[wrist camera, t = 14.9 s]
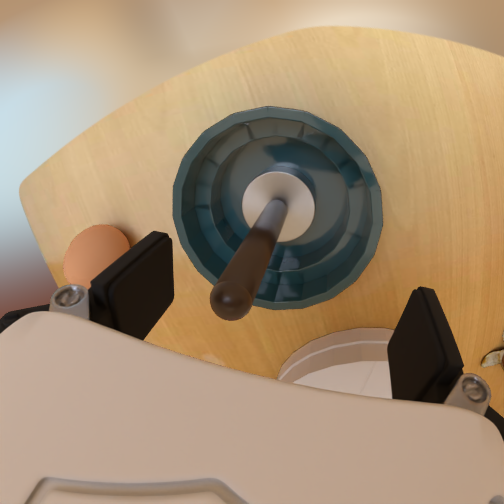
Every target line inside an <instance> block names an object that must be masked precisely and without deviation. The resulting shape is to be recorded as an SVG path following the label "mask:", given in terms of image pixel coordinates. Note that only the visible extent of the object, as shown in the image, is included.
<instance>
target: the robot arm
mask: <svg viewBox="0 0 504 504" xmlns="http://www.w3.org/2000/svg"><path fill="white" fill-rule="evenodd" d="M90 284H91V287H90V288H89V289H88V290H87V289H86V287H84V286H82V285H78V284H70V285H65V286H63V287H61V288H59V289H58V290H56V291H55V292H54V293H53V295H52V297H51V300H50V304H47V305H42V306H37V307H31V308H26V309H21V310H16V311H11V312H8V313H6V314H5V315H4V316H3V317H2V318H1V319H0V504H504V418H503V417H502V416H501V415H499V414H498V413H497V412H496V411H495V410H494V409H492V408H491V407H490V406H489V403H490V400H491V391H490V388H489V386H488V384H487V383H486V381H485V380H483V379H482V378H481V377H480V376H478V375H476V374H473V373H466V374H464V373H463V370H462V368H463V366H464V364H463V361H462V358H461V355H460V353H459V350H458V347H457V344H456V342H455V339H454V336H453V334H452V331H451V329H450V326H449V324H448V321H447V319H446V316H445V314H444V312H443V309H442V307H441V305H440V302H439V300H438V298H437V296H436V293H435V291H434V290H433V289H430V288H426V287H421V286H420V287H418V289H417V290H416V289H414V290H413V291H412V293H411V296H410V298H409V300H408V303H407V305H406V307H405V309H404V311H403V314H402V316H401V318H400V320H399V322H398V324H397V326H396V328H395V330H394V332H393V334H392V336H391V338H390V340H389V343H388V346H387V355H388V363H389V371H390V380H391V390H392V399H388V398H380V397H372V396H364V395H357V394H351V393H344V392H338V391H332V390H326V389H321V388H315V387H310V386H305V385H300V384H295V383H290V382H286V381H281V380H277V379H272V378H268V377H264V376H260V375H255V374H251V373H247V372H243V371H240V370H236V369H232V368H228V367H225V366H221V365H218V364H214V363H211V362H207V361H204V360H201V359H197V358H194V357H191V356H187V355H184V354H181V353H178V352H175V351H172V350H169V349H166V348H163V347H160V346H157V345H154V344H151V343H149V342H146V341H143V340H144V339H145V337H146V336H147V335H148V333H149V332H150V331H151V329H152V328H153V327H154V325H155V324H156V323H157V321H158V320H159V319H160V318H161V316H162V315H163V314H164V312H165V311H166V310H167V308H168V307H169V306H170V305H171V303H172V302H173V299H174V278H173V248H172V239H171V238H169V236H168V234H167V233H162V232H158V231H153V232H151V233H150V234H149V235H147V236H146V237H145V238H143V239H142V240H141V241H139V242H138V243H137V244H136V245H134V246H133V247H132V248H131V249H129V250H128V251H127V252H125V253H124V254H123V255H122V256H120V257H119V258H118V259H117V260H116V261H114V262H113V263H112V264H111V265H109V266H108V267H107V268H106V269H105V270H103V271H102V272H101V273H100V274H99V275H97V276H96V277H95V278H94V279H93V280H91V281H90Z"/></svg>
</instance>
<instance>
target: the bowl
mask: <svg viewBox="0 0 504 504" xmlns="http://www.w3.org/2000/svg"><path fill="white" fill-rule="evenodd" d="M272 167H289V168H292V169H295V170H297V171H299V172H300V173H302V174H303V175H304V176H305V177H306V178H307V179H308V180H309V181H310V183H311V184H312V186H313V188H314V191H315V195H316V208H315V216H314V219H313V222H312V224H311V226H310V227H309V229H308V230H307V231H306V232H305V233H304V234H303V235H301V236H300V237H298V238H296V239H294V240H291V241H287V242H277V243H276V245H275V248H274V251H273V253H272V256H271V258H270V261H269V263H268V266H267V269H266V271H265V274H264V276H263V279H262V281H261V284H260V286H259V289H258V292H257V294H256V297H255V299H254V302H253V304H252V305H253V306H258V307H262V308H267V309H272V310H286V309H303V308H306V307H309V306H312V305H315V304H318V303H321V302H324V301H327V300H329V299H331V298H334V297H335V296H336V295H338V294H339V293H340V292H342V291H343V290H345V289H346V288H347V287H349V286H350V285H351V284H353V283H354V282H355V281H356V280H357V279H358V278H359V276H360V275H361V273H362V272H363V271H364V269H365V268H366V266H367V265H368V264H369V262H370V261H371V259H372V258H373V256H374V255H375V251H376V248H377V245H378V241H379V238H380V234H381V231H382V227H383V211H382V197H381V190H380V186H379V184H378V182H377V179H376V177H375V175H374V172H373V170H372V168H371V166H370V163H369V161H368V159H367V157H366V155H365V154H364V153H363V152H362V151H361V150H360V149H359V148H358V147H357V146H356V145H355V143H354V142H353V141H352V140H351V139H350V138H349V137H348V136H347V135H346V134H345V133H344V132H343V131H342V130H341V129H340V128H338V127H336V126H334V125H332V124H331V123H329V122H327V121H325V120H323V119H321V118H319V117H317V116H315V115H313V114H311V113H309V112H307V111H303V110H296V109H289V108H281V107H273V106H265V107H260V108H255V109H250V110H246V111H241V112H237V113H233V114H231V115H229V116H228V117H226V118H224V119H223V120H221V121H219V122H218V123H216V124H215V125H213V126H211V127H210V128H208V129H207V130H205V131H204V132H203V133H202V134H201V135H200V136H199V138H198V139H197V140H196V141H195V143H194V144H193V145H192V146H191V148H190V149H189V150H188V151H187V153H186V154H185V155H184V157H183V159H182V162H181V164H180V167H179V170H178V173H177V176H176V179H175V182H174V185H173V220H174V223H175V227H176V230H177V234H178V237H179V240H180V243H181V245H182V248H183V249H184V251H185V252H186V254H187V255H188V257H189V259H190V260H191V262H192V263H193V265H194V266H195V268H196V269H197V271H198V272H199V273H200V274H201V275H203V276H204V277H205V278H206V279H207V280H208V281H209V282H210V283H211V284H213V285H214V286H215V284H216V283H217V281H218V279H219V278H220V276H221V275H222V273H223V272H224V270H225V268H226V267H227V265H228V264H229V262H230V261H231V259H232V257H233V256H234V254H235V253H236V251H237V250H238V248H239V247H240V245H241V243H242V242H243V240H244V239H245V237H246V236H247V234H248V232H249V231H250V229H251V228H250V227H249V226H248V224H247V223H246V221H245V218H244V216H243V212H242V197H243V194H244V191H245V189H246V187H247V186H248V184H249V183H250V182H251V181H252V180H253V179H254V178H255V177H257V176H258V175H259V174H260V173H261V172H263V171H264V170H267V169H269V168H272Z"/></svg>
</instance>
